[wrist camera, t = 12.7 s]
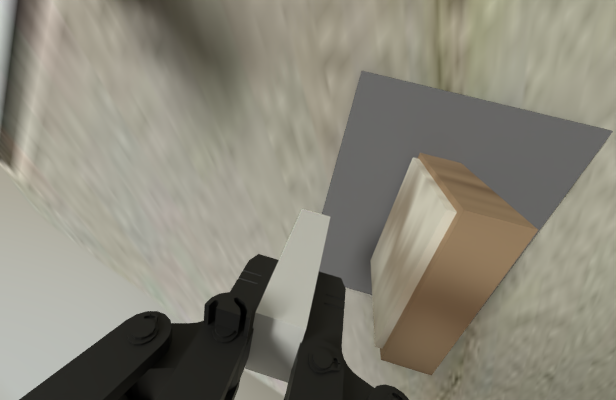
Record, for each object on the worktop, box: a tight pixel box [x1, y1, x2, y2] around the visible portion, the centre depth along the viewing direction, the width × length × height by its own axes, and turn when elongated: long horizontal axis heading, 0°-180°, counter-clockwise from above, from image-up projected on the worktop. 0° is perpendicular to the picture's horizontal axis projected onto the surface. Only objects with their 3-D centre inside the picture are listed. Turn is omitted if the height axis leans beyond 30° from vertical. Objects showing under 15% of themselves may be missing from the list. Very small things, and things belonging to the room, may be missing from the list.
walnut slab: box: [370, 153, 538, 375], centre depth 15 cm, size 9×3×8 cm, turn 168°
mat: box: [319, 71, 613, 323], centre depth 19 cm, size 16×14×1 cm
